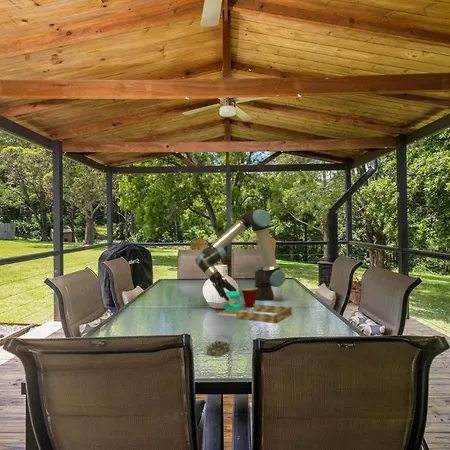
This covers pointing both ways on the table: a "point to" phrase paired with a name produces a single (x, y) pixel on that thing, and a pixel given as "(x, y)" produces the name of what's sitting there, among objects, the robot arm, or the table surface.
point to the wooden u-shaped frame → (281, 314)
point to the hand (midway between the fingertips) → (236, 302)
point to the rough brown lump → (221, 348)
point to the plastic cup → (249, 296)
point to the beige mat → (230, 312)
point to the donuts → (235, 305)
